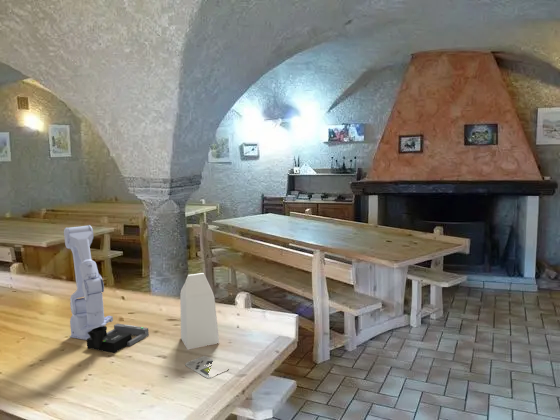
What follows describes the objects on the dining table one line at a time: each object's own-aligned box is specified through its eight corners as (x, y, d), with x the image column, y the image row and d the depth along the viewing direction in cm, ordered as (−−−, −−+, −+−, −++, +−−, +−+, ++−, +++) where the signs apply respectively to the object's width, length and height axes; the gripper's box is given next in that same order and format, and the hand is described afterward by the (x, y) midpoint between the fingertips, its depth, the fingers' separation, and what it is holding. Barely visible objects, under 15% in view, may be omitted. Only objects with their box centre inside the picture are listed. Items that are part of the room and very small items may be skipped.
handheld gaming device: (204, 354, 164) (230, 368, 153) (204, 356, 164) (230, 370, 153) (183, 363, 158) (208, 378, 147) (183, 365, 158) (208, 380, 147)
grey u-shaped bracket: (97, 341, 180) (97, 332, 179) (117, 330, 190) (117, 322, 190) (129, 346, 174) (129, 337, 174) (148, 335, 184) (148, 327, 184)
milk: (187, 349, 170) (183, 280, 166) (180, 338, 180) (176, 272, 177) (219, 343, 174) (215, 275, 171) (211, 332, 185) (207, 268, 182)
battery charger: (132, 343, 177) (131, 333, 177) (114, 354, 169) (113, 343, 168) (105, 339, 182) (105, 329, 182) (87, 349, 173) (86, 338, 173)
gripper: (88, 319, 160) (91, 356, 161) (118, 305, 173) (120, 340, 175) (72, 316, 162) (76, 353, 164) (103, 303, 176) (106, 338, 177)
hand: (98, 346), depth 170 cm, fingers closed
